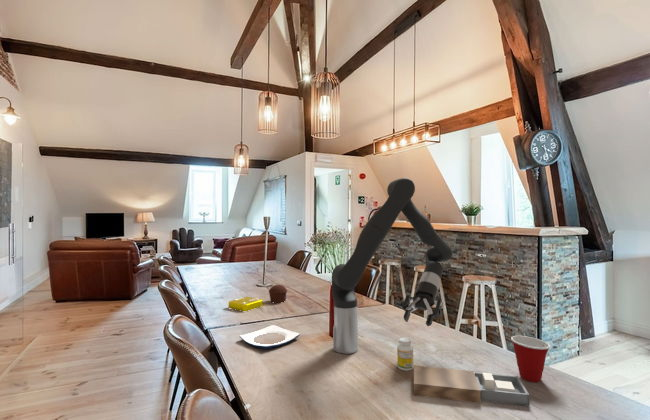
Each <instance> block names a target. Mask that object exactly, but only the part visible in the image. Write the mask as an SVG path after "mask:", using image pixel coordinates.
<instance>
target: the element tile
mask: <svg viewBox="0 0 650 420" xmlns="http://www.w3.org/2000/svg"><path fill="white" fill-rule="evenodd" d="M260 306H262V307H263V306H264V299H262V298H256V297H252V296H243V297H239V298H237V299H233V300H229V301H228V309H229V308H232V309H236V310H235V311H237V310H241V311H247V312H249V311H248V310H250V311H252V310H251V309H254V308H257V307H260ZM260 308H261V307H260ZM232 309H231V310H232ZM257 309H258V308H257ZM254 310H255V309H254ZM241 311H240V312H241Z"/></svg>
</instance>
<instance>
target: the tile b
mask: <svg viewBox="0 0 650 420" xmlns="http://www.w3.org/2000/svg"><path fill="white" fill-rule="evenodd" d="M494 384H495V390H497V391H507V392H515V389H514V387H513V385H512V382H507V381H499V380H494Z"/></svg>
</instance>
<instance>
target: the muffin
mask: <svg viewBox="0 0 650 420" xmlns="http://www.w3.org/2000/svg"><path fill="white" fill-rule="evenodd" d="M287 293H288V290H287V288H286V287H285V286H284V285H282V284H275V285H272V286H271V287H270V288H269V290H268V294H269V300H270V303H272V302H274V303H273V304H282V303H281V302H283V303H285V302H286V301H287V300H286V299H287ZM284 301H285V302H284Z"/></svg>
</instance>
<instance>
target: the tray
mask: <svg viewBox="0 0 650 420" xmlns="http://www.w3.org/2000/svg"><path fill="white" fill-rule="evenodd" d="M474 374H475V377H476V380H477V382H478V385H479V388H480V394H481V402H482V401H483V402H491V403H499V404H500V403H502V404H509V405H518V406H527V407H530V404H531V403H530V394H529V391H528V390H527V389H526V386H525V385H524V384H523V383H522V381H521V379H520V377H519V376H518V375H508V374H498V373H497V374H496V373H491V374H492V376H493V378H494V380H499V381H507V382H512V385H513V387H514V389H515V392H507V391H497V390H488V389H483V386H482V372H474ZM494 385H495V384H494Z"/></svg>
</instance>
